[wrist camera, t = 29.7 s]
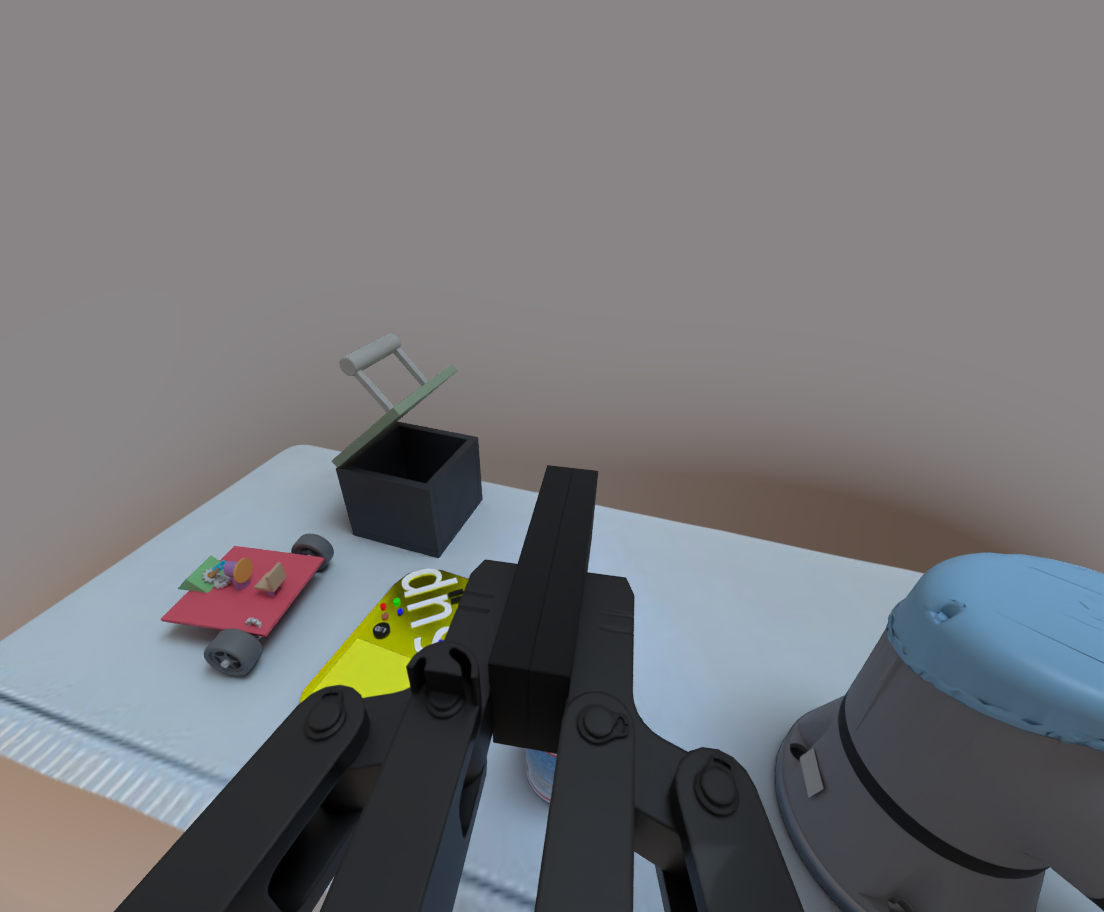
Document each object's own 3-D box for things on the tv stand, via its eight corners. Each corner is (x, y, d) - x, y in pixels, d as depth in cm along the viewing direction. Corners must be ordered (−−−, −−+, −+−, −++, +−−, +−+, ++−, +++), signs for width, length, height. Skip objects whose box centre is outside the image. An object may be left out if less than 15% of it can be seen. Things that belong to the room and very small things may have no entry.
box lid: (457, 370, 57) (411, 315, 55) (400, 415, 47) (341, 349, 45) (398, 420, 64) (355, 372, 62) (337, 467, 54) (284, 412, 52)
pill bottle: (588, 825, 35) (600, 745, 29) (512, 788, 36) (508, 705, 30) (612, 744, 39) (626, 660, 33) (543, 715, 41) (545, 631, 35)
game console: (405, 761, 38) (403, 751, 37) (293, 714, 41) (288, 704, 40) (500, 594, 52) (499, 584, 52) (411, 568, 55) (409, 558, 54)
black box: (482, 499, 66) (478, 437, 61) (439, 558, 57) (429, 490, 51) (406, 482, 69) (396, 421, 64) (353, 535, 60) (335, 468, 54)
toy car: (255, 684, 43) (230, 636, 39) (137, 665, 44) (102, 616, 41) (341, 564, 56) (328, 519, 52) (247, 551, 57) (227, 507, 53)
